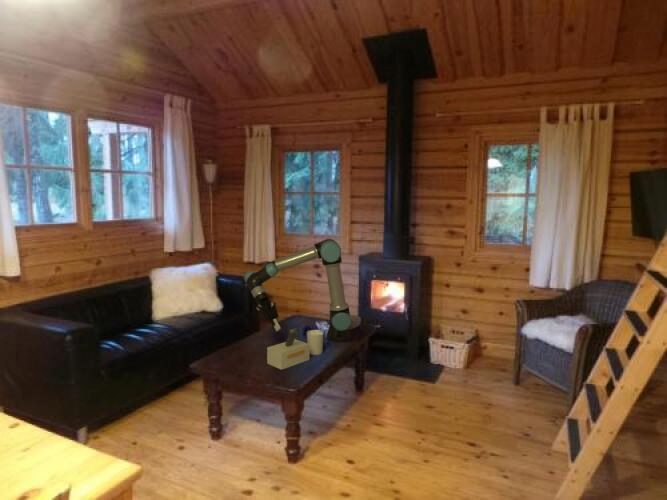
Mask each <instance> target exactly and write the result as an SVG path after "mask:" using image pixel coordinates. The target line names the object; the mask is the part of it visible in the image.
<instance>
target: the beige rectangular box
mask: <svg viewBox="0 0 667 500" xmlns="http://www.w3.org/2000/svg"><path fill="white" fill-rule="evenodd" d="M285 344H286V341H284V342H281V343H277V344H275V345H271V346H268V347H266V350H267V351H266V353H267V354H266V356H267V357H266V363H267V364H268V365H270V366H272V367H275V368H277V369H279V370H284V369H288V368H290V367H293V366H296V365H298V364H302V363H304V362H306V361H309V360H310V354H309V344H307V342H304V341H302V340H298V339H296V338H295V339H294V342H293V345H291V346H288V347H287V346H286V345H285Z"/></svg>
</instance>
